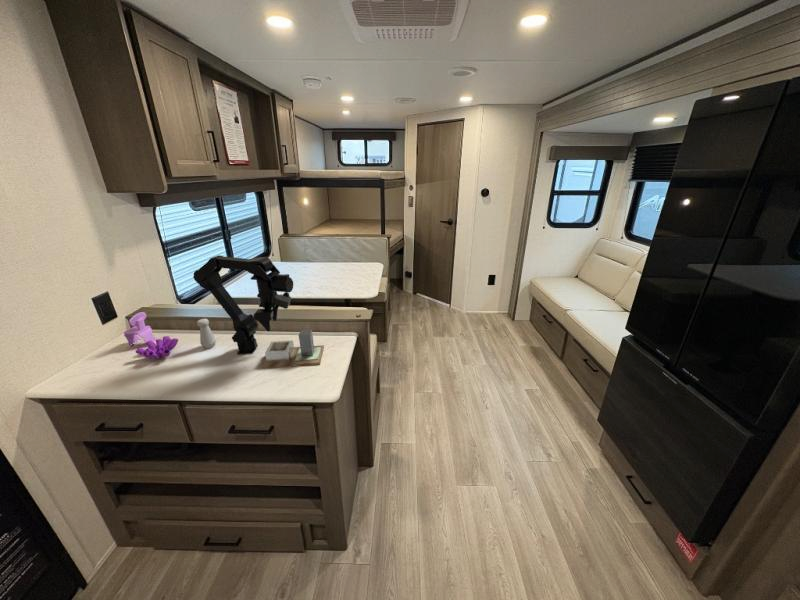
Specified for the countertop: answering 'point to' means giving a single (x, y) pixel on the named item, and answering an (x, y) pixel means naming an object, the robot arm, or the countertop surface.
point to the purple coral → (158, 348)
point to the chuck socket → (279, 351)
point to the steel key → (306, 343)
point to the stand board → (299, 359)
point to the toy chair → (139, 329)
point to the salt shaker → (206, 334)
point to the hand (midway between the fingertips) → (272, 325)
